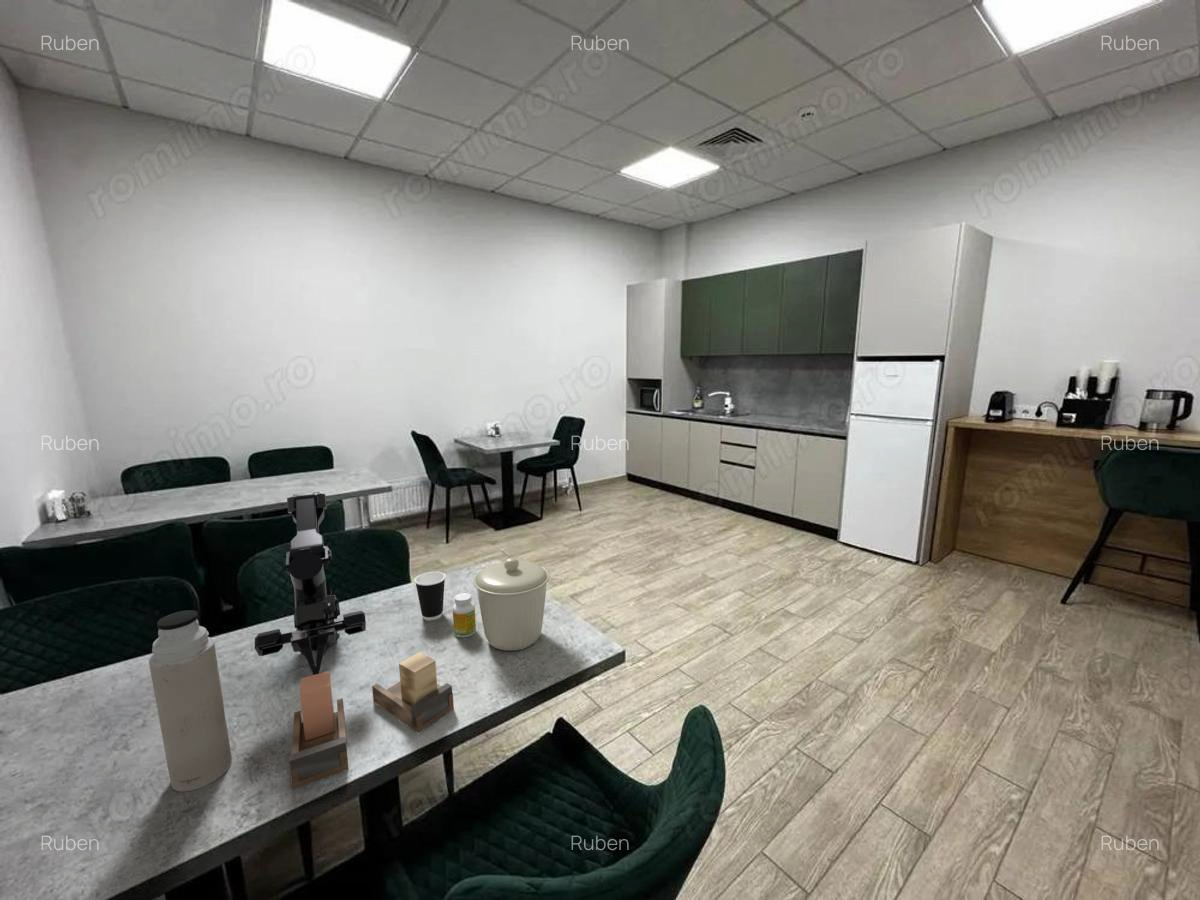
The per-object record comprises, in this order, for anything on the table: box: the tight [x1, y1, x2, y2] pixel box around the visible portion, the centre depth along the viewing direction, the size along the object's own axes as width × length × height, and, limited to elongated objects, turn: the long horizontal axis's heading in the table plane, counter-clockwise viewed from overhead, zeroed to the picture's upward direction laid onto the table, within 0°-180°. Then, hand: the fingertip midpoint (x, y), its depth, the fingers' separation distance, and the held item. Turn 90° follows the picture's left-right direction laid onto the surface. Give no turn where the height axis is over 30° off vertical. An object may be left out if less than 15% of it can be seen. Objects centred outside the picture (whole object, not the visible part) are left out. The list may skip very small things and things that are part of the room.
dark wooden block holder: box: [288, 697, 349, 790], centre depth 86 cm, size 15×8×5 cm, turn 30°
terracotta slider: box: [299, 670, 335, 741], centre depth 89 cm, size 5×5×9 cm
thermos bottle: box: [148, 609, 233, 793], centre depth 79 cm, size 8×8×28 cm
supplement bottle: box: [452, 592, 477, 638], centre depth 123 cm, size 5×5×10 cm
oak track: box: [371, 681, 455, 734], centre depth 97 cm, size 15×8×5 cm, turn 55°
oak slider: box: [398, 651, 438, 706], centre depth 95 cm, size 5×5×9 cm
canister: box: [472, 557, 550, 652], centre depth 119 cm, size 18×18×21 cm
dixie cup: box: [413, 571, 447, 622], centre depth 131 cm, size 8×8×11 cm
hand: (316, 676), depth 93 cm, fingers closed
